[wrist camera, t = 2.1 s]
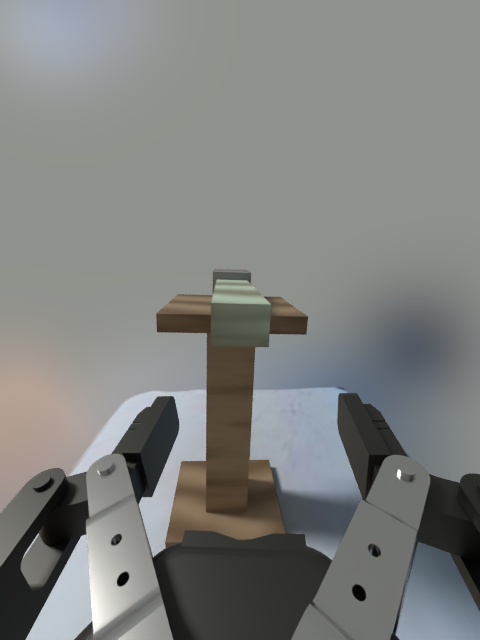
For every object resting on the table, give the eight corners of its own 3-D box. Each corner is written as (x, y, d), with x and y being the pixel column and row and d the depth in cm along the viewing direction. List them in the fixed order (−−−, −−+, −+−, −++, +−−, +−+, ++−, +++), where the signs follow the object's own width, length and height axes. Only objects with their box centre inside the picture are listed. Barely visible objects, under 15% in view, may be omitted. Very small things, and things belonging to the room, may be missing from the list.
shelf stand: (181, 468, 48) (178, 294, 41) (268, 466, 50) (280, 297, 42) (165, 551, 35) (156, 313, 27) (285, 546, 36) (307, 316, 28)
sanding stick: (214, 293, 43) (214, 268, 42) (244, 294, 44) (245, 269, 43) (203, 346, 18) (203, 287, 17) (275, 347, 18) (279, 289, 17)
